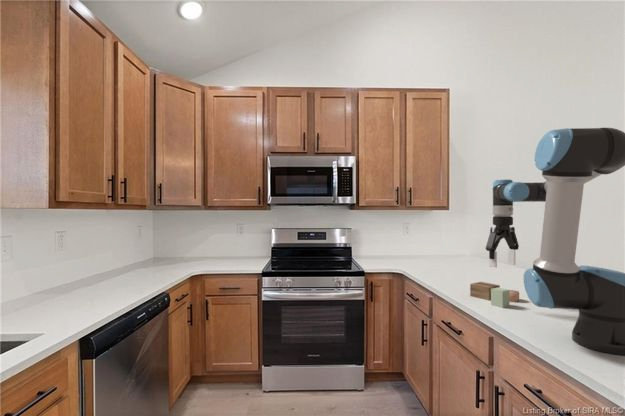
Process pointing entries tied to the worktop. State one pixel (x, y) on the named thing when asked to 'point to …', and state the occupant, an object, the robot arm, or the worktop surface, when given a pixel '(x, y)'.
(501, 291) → the green block
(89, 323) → the worktop surface
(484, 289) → the walnut block
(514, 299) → the brown rounded block
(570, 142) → the robot arm
